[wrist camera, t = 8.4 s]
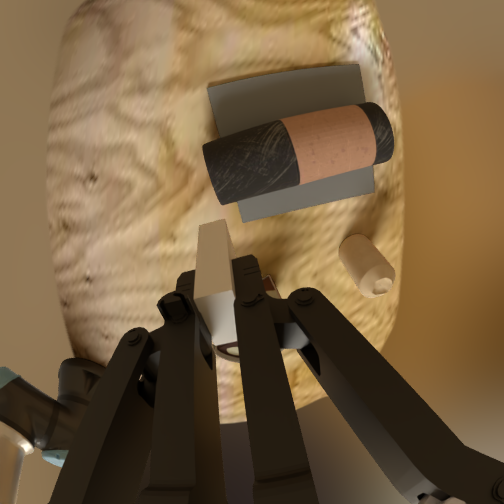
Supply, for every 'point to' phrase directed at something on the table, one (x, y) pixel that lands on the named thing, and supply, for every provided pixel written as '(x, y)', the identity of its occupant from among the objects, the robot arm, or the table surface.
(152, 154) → the table surface
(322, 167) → the travel mug
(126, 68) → the table surface
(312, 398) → the table surface
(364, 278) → the candle
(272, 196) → the mat
